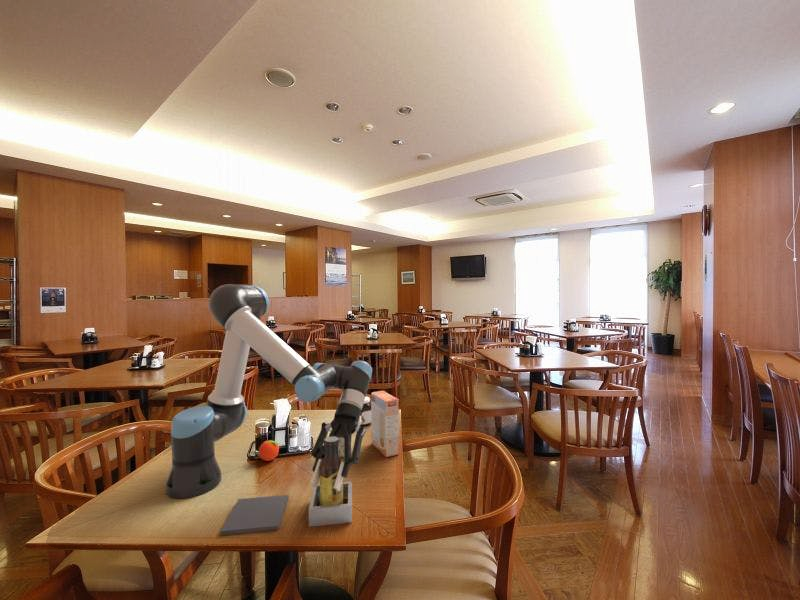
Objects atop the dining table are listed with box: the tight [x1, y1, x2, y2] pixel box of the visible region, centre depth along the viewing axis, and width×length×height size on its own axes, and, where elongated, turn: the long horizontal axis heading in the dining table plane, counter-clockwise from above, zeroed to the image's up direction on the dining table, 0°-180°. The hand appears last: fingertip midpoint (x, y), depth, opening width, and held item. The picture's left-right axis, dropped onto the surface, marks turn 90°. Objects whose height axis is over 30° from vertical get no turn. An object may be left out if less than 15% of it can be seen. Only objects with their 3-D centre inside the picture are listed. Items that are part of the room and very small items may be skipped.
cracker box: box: [370, 390, 400, 458], centre depth 136 cm, size 14×6×21 cm, turn 26°
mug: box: [329, 428, 353, 458], centre depth 131 cm, size 8×13×10 cm, turn 174°
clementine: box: [258, 439, 282, 462], centre depth 129 cm, size 8×7×7 cm
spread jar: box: [358, 396, 371, 427], centre depth 162 cm, size 12×11×12 cm
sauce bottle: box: [319, 436, 344, 506], centre depth 98 cm, size 6×6×20 cm
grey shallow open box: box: [308, 481, 353, 527], centre depth 98 cm, size 11×12×4 cm
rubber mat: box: [220, 494, 290, 536], centre depth 97 cm, size 14×14×1 cm
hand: (325, 487), depth 95 cm, fingers closed on sauce bottle, 6 cm apart
